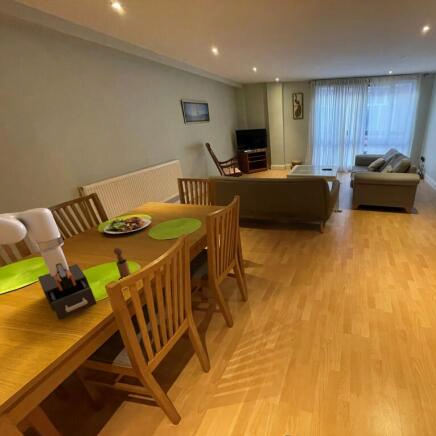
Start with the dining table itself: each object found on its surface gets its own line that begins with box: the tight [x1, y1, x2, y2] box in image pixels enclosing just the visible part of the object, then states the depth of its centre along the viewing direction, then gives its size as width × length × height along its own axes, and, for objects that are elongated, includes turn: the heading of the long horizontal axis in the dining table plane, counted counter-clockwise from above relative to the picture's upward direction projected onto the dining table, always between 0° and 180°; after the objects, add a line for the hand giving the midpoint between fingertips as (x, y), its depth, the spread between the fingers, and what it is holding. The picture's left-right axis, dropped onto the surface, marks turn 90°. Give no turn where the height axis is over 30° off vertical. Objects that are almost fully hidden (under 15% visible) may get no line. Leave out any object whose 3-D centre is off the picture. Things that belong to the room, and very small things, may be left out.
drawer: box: [49, 280, 98, 322], centre depth 93 cm, size 18×11×8 cm, turn 51°
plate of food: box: [103, 216, 152, 234], centre depth 165 cm, size 28×28×6 cm
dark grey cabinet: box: [37, 263, 91, 313], centre depth 100 cm, size 15×13×10 cm
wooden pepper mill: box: [113, 246, 132, 281], centre depth 107 cm, size 7×6×18 cm
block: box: [54, 271, 76, 291], centre depth 91 cm, size 5×5×5 cm
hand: (66, 284), depth 91 cm, fingers closed on block, 4 cm apart
